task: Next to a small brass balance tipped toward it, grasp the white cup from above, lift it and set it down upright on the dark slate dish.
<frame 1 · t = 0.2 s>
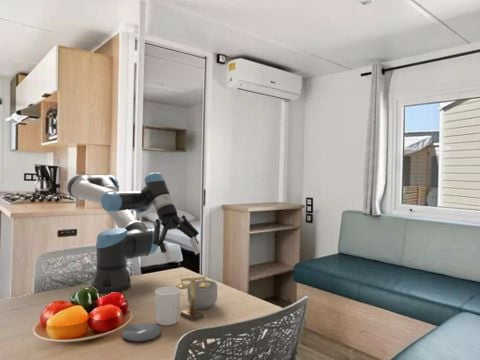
hand: (184, 256, 138), 16 cm above the table, tool tilted 35°, fingers open, 13 cm apart
dish: (141, 334, 107), on the table
white cup: (167, 321, 116), on the table
teacup: (203, 305, 131), on the table
balance: (192, 316, 120), on the table
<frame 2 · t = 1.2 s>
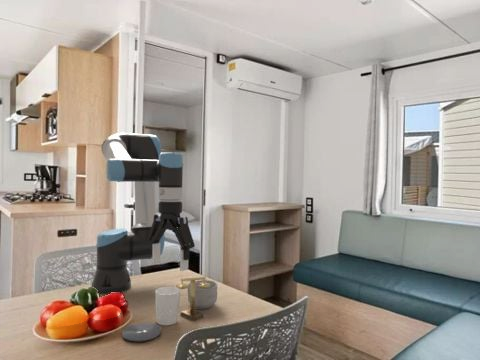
hand: (169, 266, 117), 17 cm above the table, tool pointing down, fingers open, 13 cm apart
nothing on the table moved.
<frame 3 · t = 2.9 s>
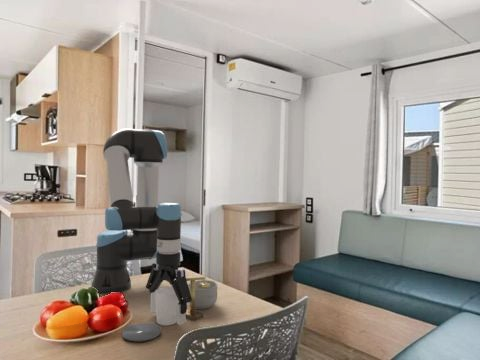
hand: (167, 317, 116), 1 cm above the table, tool pointing down, fingers open, 13 cm apart
nothing on the table moved.
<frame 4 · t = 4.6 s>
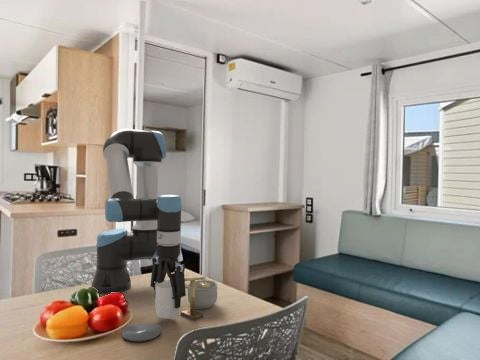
hand: (166, 313, 117), 2 cm above the table, tool pointing down, fingers closed on white cup, 7 cm apart
white cup: (167, 314, 117), point 2 cm above the table, touching gripper
everything else where it was.
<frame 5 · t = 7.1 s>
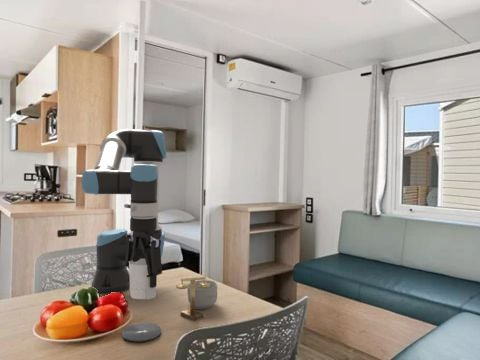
hand: (142, 294, 106), 12 cm above the table, tool pointing down, fingers closed on white cup, 7 cm apart
white cup: (142, 296, 106), point 11 cm above the table, touching gripper
everything else where it was.
when the fingers open (3 cm above the table, at t = 9.4 s): white cup drops 1 cm, resting on dish.
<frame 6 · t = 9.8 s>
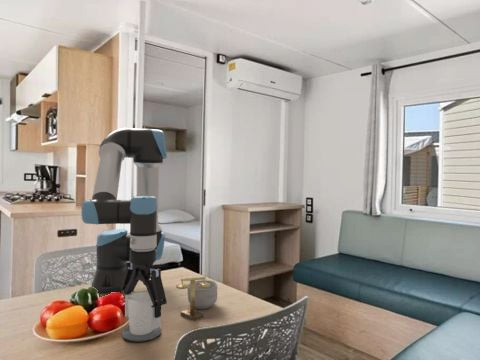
hand: (142, 321, 106), 4 cm above the table, tool pointing down, fingers open, 12 cm apart
white cup: (141, 331, 107), point 1 cm above the table, touching dish
everything else where it was.
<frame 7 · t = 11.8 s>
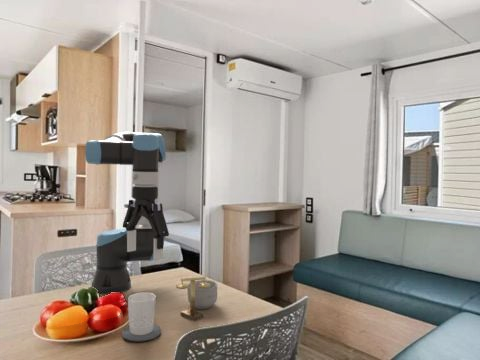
hand: (144, 255, 110), 22 cm above the table, tool pointing down, fingers open, 13 cm apart
nothing on the table moved.
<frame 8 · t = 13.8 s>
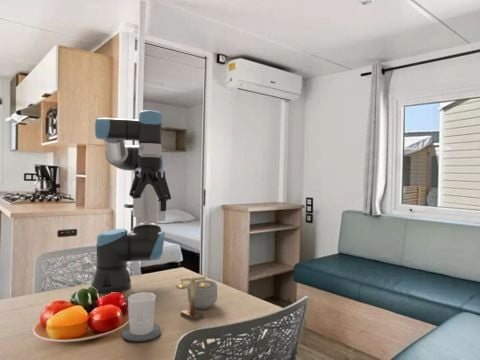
hand: (148, 218, 124), 32 cm above the table, tool pointing down, fingers open, 13 cm apart
nothing on the table moved.
at the end: white cup 0.2 cm from the dish (horizontally); white cup tilted 0°; white cup point 1.0 cm above the table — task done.
